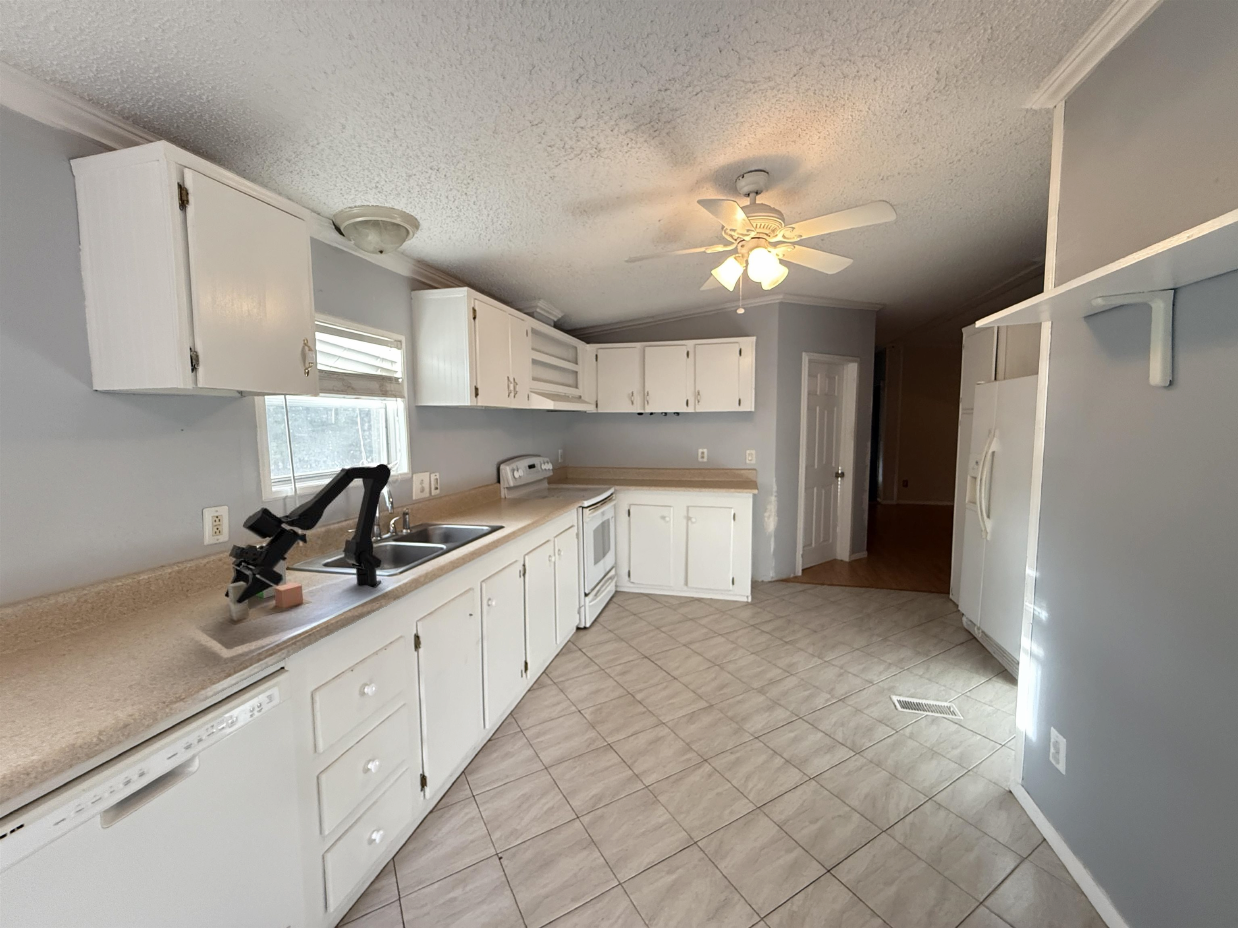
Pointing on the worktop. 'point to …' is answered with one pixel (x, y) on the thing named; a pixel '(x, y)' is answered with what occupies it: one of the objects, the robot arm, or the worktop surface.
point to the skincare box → (270, 591)
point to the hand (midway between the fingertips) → (231, 599)
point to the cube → (288, 595)
